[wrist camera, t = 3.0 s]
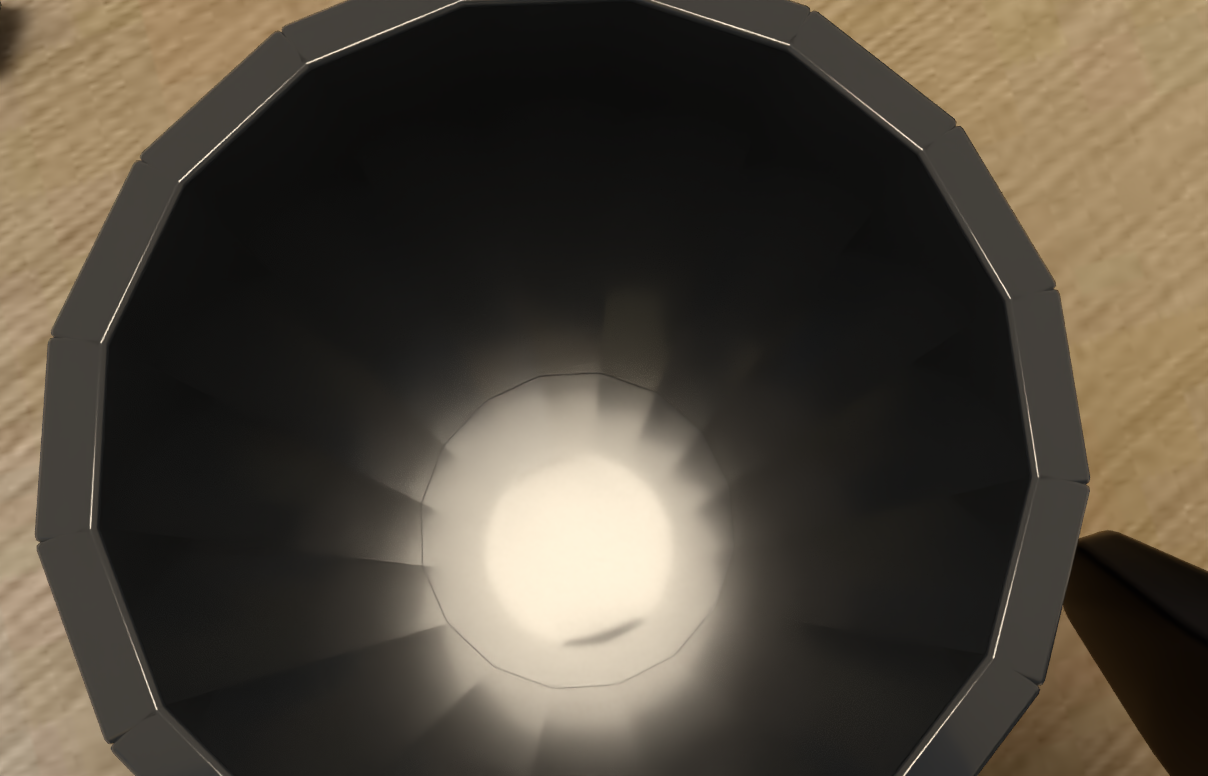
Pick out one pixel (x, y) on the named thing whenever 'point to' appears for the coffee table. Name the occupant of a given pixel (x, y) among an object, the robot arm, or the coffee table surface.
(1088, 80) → the coffee table surface
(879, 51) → the coffee table surface
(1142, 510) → the coffee table surface
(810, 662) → the pen cup
